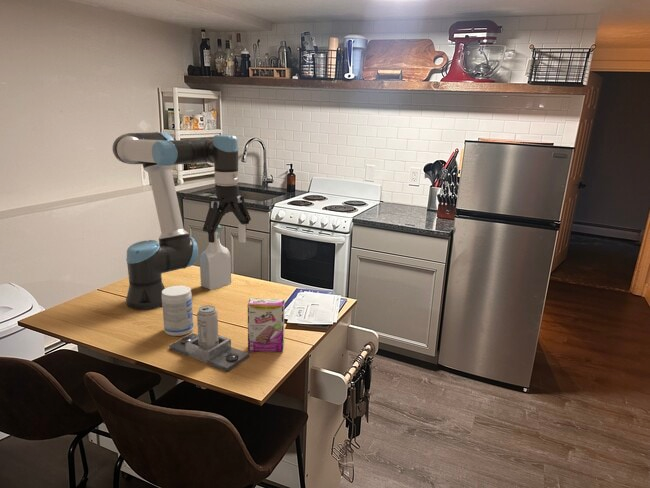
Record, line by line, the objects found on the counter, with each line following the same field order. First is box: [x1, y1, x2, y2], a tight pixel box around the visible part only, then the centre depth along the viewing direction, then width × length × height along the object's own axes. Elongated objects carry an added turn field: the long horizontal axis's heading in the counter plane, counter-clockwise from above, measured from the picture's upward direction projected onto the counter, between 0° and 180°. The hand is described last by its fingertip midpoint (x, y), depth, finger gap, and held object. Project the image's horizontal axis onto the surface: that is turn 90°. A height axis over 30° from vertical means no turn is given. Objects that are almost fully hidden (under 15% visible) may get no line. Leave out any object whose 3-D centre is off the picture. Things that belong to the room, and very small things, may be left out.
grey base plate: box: [168, 332, 250, 372], centre depth 144 cm, size 24×10×4 cm, turn 59°
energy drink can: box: [196, 304, 219, 350], centre depth 143 cm, size 6×6×15 cm
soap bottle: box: [199, 224, 232, 291], centre depth 195 cm, size 11×8×27 cm
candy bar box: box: [247, 298, 286, 353], centre depth 146 cm, size 11×5×16 cm, turn 91°
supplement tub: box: [161, 285, 195, 337], centre depth 157 cm, size 10×10×15 cm
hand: (228, 246), depth 157 cm, fingers open, 13 cm apart
